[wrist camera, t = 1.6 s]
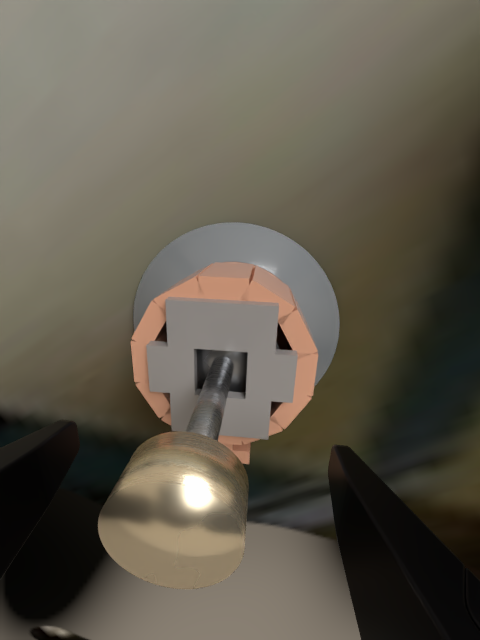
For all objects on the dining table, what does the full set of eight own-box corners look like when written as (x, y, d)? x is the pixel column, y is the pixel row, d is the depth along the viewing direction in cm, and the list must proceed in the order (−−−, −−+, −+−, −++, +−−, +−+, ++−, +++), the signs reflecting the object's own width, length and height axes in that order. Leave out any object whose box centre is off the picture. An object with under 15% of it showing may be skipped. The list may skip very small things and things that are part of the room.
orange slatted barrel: (293, 422, 19) (302, 492, 14) (170, 411, 19) (138, 475, 14) (310, 265, 15) (330, 285, 11) (162, 258, 16) (118, 274, 11)
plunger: (277, 415, 14) (289, 634, 7) (170, 406, 14) (67, 604, 7) (286, 310, 12) (316, 448, 5) (164, 303, 13) (21, 421, 5)
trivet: (323, 419, 19) (324, 425, 19) (144, 404, 20) (141, 409, 19) (352, 226, 15) (355, 226, 15) (129, 218, 16) (124, 218, 15)
